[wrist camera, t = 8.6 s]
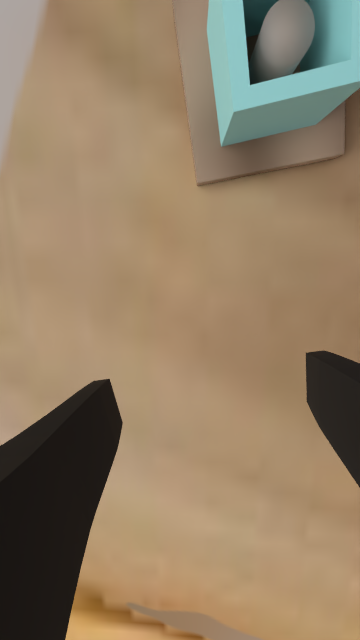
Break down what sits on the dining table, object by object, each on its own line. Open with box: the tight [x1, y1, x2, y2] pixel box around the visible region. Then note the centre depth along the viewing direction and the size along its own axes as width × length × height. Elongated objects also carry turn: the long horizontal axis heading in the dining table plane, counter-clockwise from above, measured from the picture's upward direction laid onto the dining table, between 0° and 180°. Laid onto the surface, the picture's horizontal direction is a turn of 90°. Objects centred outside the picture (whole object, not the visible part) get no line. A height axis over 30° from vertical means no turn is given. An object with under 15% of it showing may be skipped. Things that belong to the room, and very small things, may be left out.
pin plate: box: [172, 0, 345, 186], centre depth 12 cm, size 8×8×4 cm
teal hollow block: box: [207, 0, 360, 147], centre depth 11 cm, size 5×5×4 cm
